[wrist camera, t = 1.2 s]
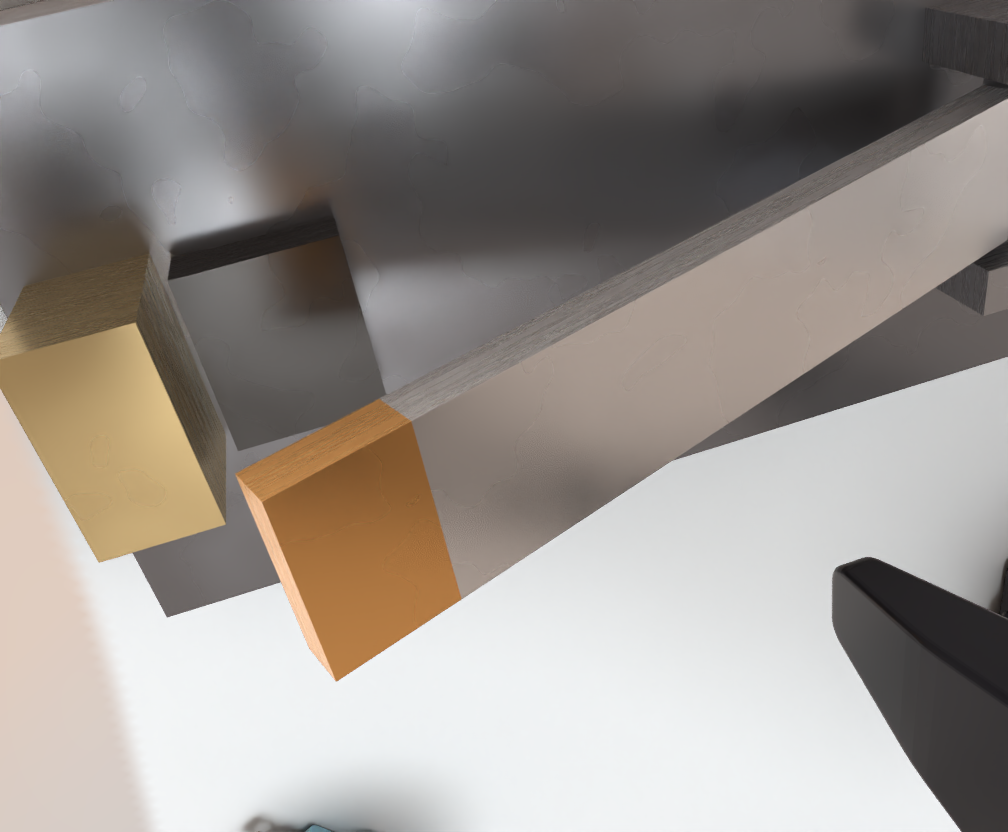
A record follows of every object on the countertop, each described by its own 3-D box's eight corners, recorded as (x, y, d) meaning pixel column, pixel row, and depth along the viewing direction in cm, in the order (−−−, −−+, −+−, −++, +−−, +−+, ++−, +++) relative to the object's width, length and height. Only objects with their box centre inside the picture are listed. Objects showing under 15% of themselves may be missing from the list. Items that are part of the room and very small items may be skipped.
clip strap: (1005, 67, 18) (1068, 72, 17) (988, 212, 20) (1046, 223, 19) (228, 467, 11) (269, 510, 10) (303, 640, 13) (343, 690, 12)
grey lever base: (1018, -220, 19) (1301, -253, 14) (962, 298, 25) (1143, 403, 20) (-78, 27, 16) (-212, 97, 11) (174, 535, 23) (158, 722, 18)
